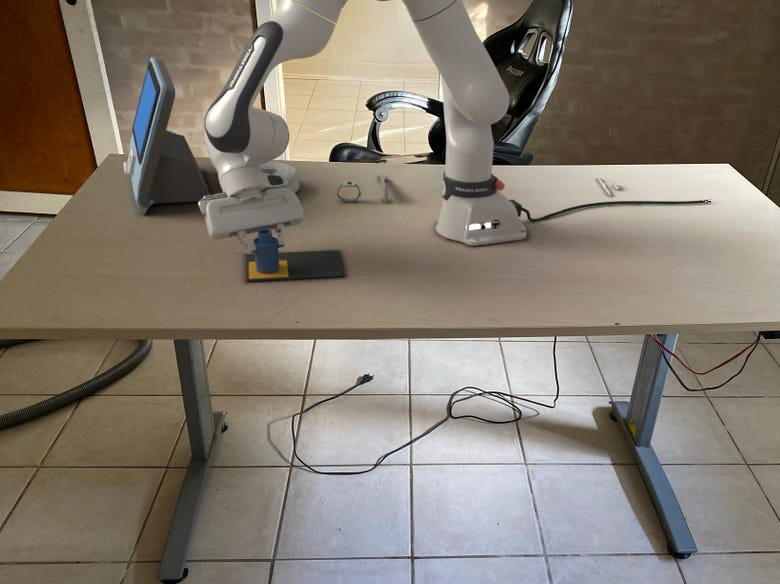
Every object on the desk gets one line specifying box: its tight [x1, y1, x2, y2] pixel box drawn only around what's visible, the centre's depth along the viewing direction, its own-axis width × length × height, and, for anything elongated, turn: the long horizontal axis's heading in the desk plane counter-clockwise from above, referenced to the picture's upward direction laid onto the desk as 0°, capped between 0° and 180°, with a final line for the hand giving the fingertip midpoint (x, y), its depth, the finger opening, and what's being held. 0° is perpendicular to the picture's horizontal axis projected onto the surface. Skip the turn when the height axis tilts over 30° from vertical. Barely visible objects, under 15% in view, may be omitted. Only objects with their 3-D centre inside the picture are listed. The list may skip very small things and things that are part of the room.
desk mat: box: [246, 249, 345, 283], centre depth 160 cm, size 20×13×1 cm, turn 104°
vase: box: [253, 229, 279, 274], centre depth 154 cm, size 5×5×8 cm
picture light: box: [598, 178, 621, 196], centre depth 215 cm, size 14×4×2 cm, turn 5°
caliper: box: [379, 173, 389, 203], centre depth 201 cm, size 20×1×6 cm, turn 9°
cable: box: [259, 161, 300, 194], centre depth 195 cm, size 18×18×6 cm
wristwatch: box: [336, 181, 362, 203], centre depth 192 cm, size 6×3×5 cm, turn 102°
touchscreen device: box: [122, 56, 211, 215], centre depth 186 cm, size 35×20×30 cm, turn 23°
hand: (267, 249), depth 153 cm, fingers closed on vase, 5 cm apart
